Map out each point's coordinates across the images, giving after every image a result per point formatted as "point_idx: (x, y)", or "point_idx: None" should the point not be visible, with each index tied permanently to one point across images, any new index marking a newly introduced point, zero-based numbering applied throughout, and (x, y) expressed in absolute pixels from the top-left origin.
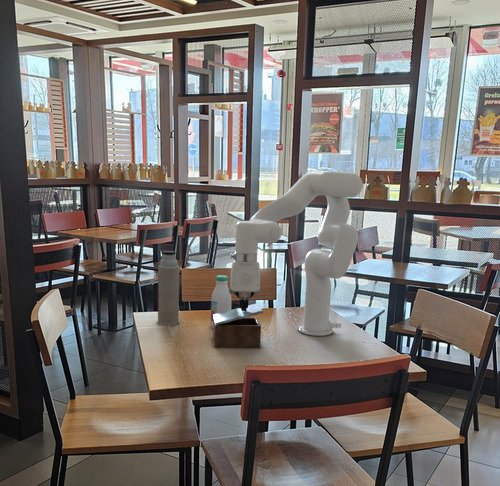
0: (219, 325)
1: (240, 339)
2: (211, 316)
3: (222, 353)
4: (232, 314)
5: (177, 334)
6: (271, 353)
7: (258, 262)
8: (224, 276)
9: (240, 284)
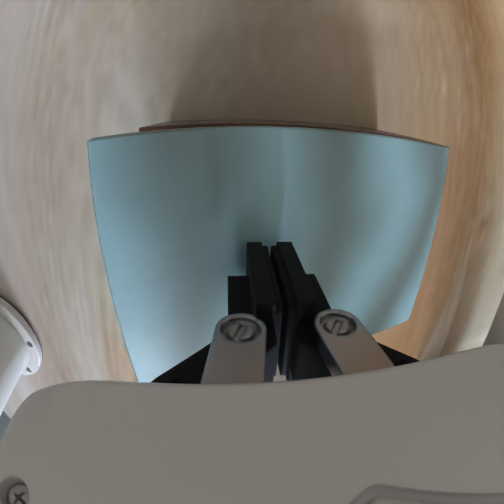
0: None
1: (273, 121)
2: None
3: (355, 53)
4: (350, 245)
5: (447, 294)
6: (129, 49)
7: None
8: None
9: (501, 462)
